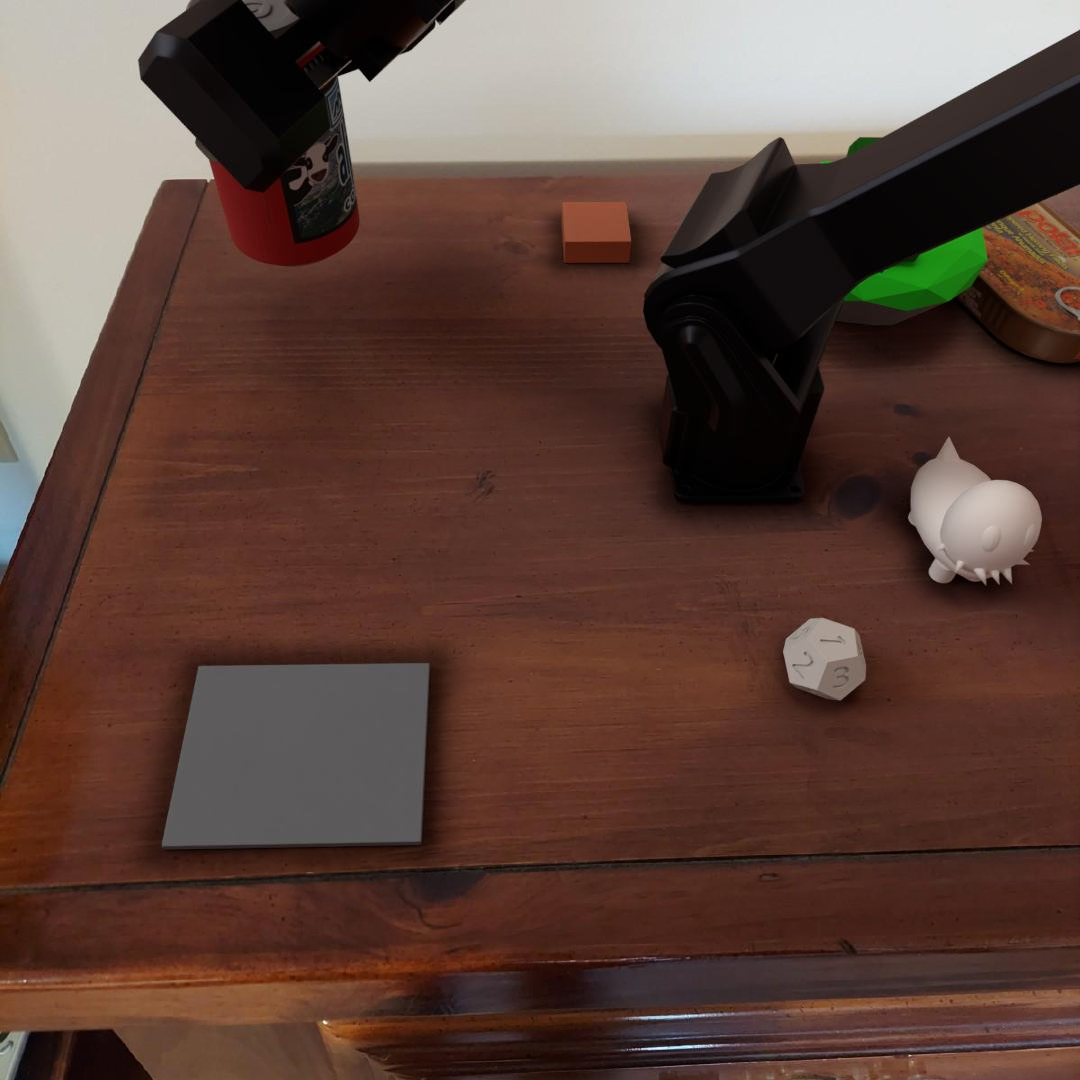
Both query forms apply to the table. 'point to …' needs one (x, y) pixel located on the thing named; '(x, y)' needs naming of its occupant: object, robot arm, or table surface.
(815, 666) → the game die
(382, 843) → the grey mat
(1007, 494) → the toy creature
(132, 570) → the table surface
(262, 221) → the beverage can
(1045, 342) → the tin
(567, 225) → the terracotta tile
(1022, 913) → the table surface
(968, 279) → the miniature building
